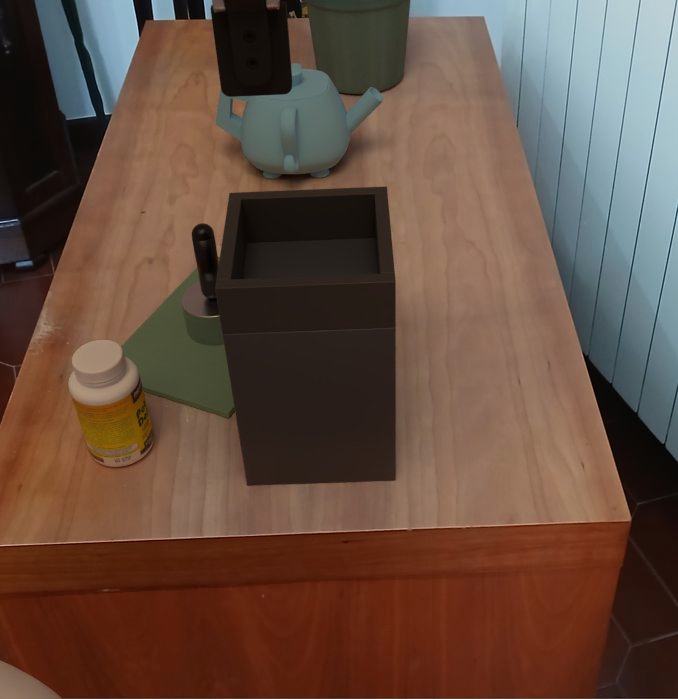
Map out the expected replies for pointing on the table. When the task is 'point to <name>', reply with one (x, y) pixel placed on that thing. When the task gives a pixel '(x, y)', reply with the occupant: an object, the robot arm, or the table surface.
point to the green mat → (180, 359)
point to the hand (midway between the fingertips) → (262, 48)
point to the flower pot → (360, 42)
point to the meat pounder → (203, 291)
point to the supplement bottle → (110, 404)
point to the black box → (311, 333)
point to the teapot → (296, 125)
